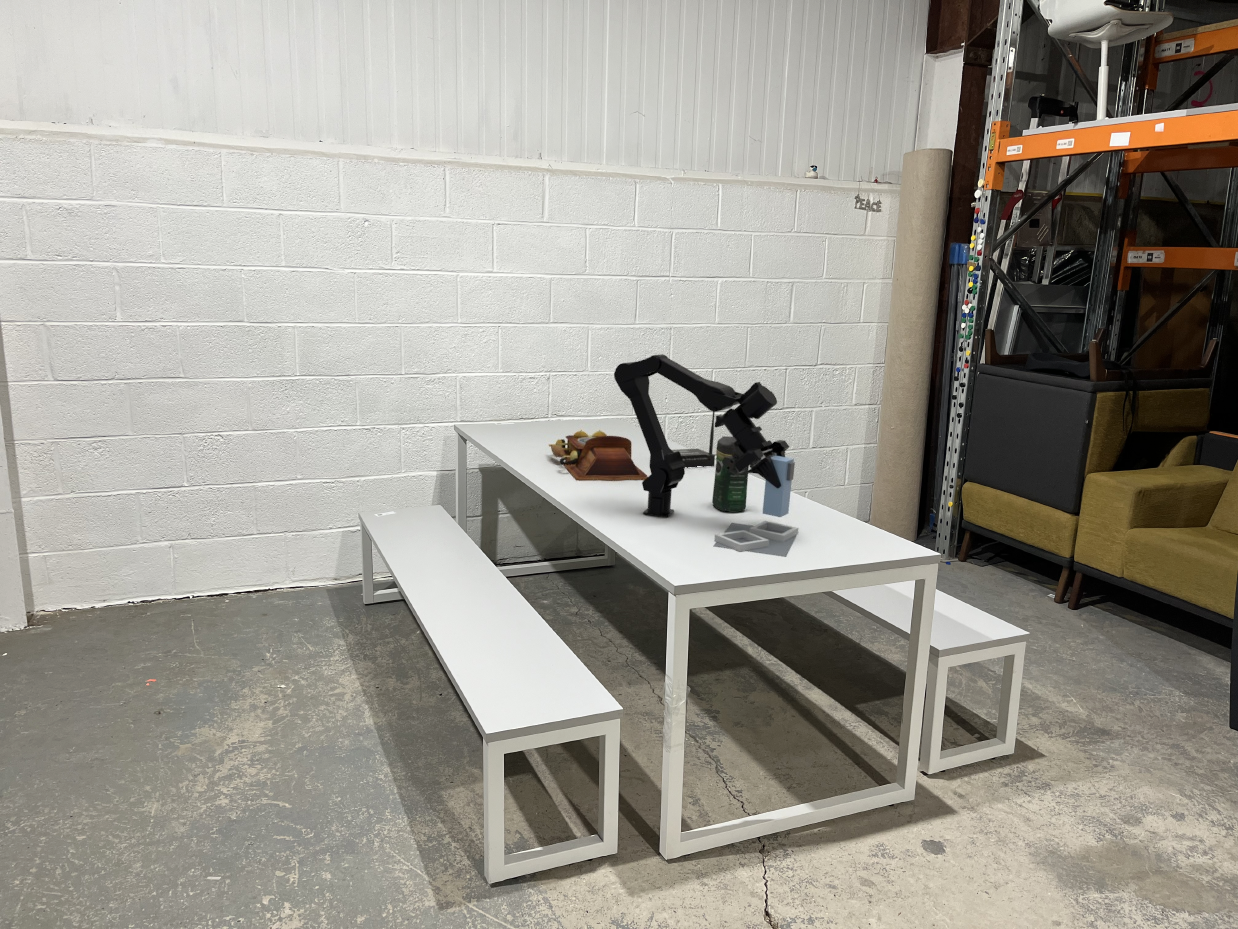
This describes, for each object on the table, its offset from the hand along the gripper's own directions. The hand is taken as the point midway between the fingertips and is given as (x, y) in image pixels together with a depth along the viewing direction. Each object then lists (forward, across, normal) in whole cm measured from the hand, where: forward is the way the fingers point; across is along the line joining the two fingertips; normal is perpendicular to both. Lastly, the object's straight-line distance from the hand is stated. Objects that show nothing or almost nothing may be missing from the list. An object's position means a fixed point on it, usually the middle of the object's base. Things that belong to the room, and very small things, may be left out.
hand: (783, 485), depth 211 cm
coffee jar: (-6, -18, -24) cm, 31 cm away
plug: (+4, 0, -6) cm, 7 cm away
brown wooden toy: (-43, -34, -63) cm, 83 cm away
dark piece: (-30, -58, -49) cm, 81 cm away
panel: (+7, +6, -11) cm, 14 cm away
